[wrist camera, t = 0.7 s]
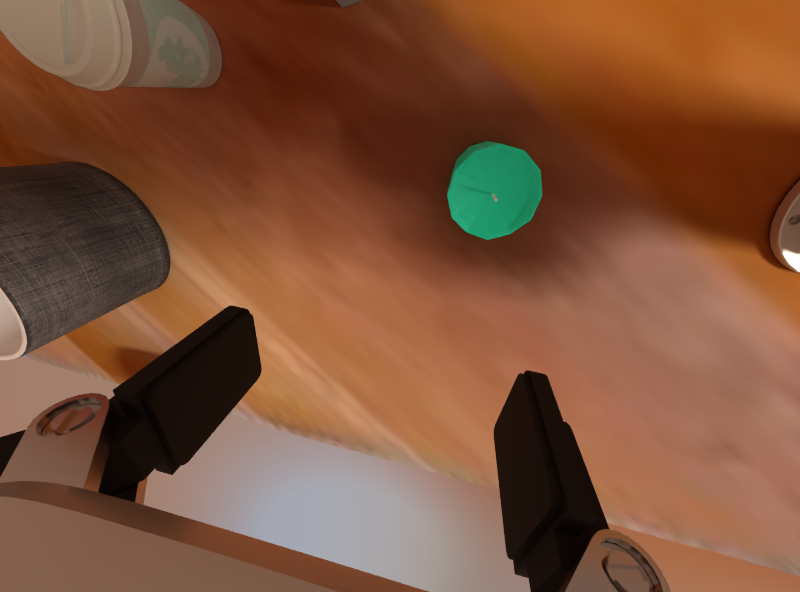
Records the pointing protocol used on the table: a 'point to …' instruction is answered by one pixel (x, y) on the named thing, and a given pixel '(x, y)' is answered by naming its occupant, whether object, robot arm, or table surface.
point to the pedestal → (347, 2)
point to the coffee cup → (115, 42)
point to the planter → (70, 251)
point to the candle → (494, 189)
